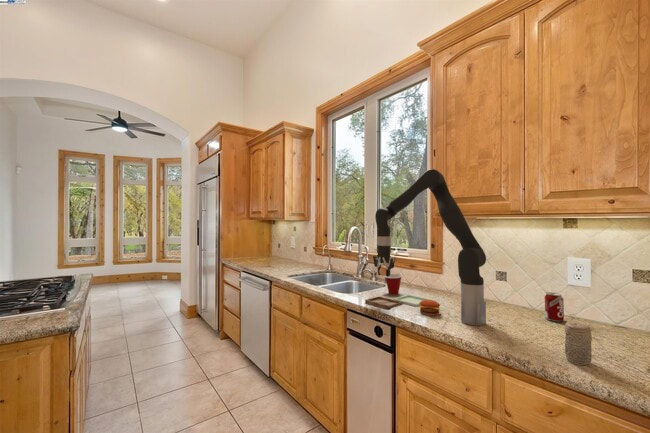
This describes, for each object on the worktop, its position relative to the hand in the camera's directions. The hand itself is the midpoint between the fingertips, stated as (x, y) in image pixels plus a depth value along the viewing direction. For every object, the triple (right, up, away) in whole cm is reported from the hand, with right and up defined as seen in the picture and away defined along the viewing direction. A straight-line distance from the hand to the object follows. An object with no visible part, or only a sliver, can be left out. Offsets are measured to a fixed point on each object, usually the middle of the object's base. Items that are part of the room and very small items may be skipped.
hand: (383, 275), depth 159 cm
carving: (+48, -14, -67) cm, 84 cm away
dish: (+16, -16, +3) cm, 23 cm away
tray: (0, -16, -1) cm, 16 cm away
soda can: (+72, -15, -27) cm, 79 cm away
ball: (0, 0, 0) cm, 0 cm away
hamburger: (+19, -15, -17) cm, 30 cm away
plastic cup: (+10, -16, +21) cm, 28 cm away
